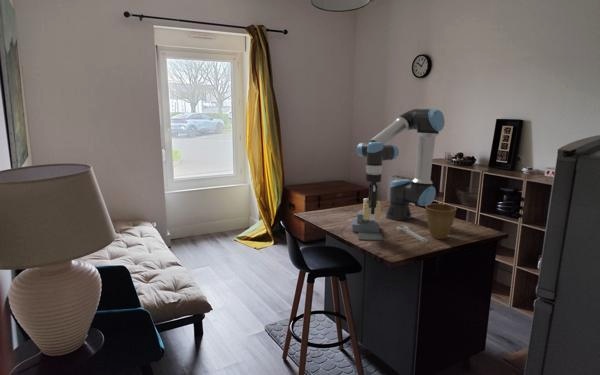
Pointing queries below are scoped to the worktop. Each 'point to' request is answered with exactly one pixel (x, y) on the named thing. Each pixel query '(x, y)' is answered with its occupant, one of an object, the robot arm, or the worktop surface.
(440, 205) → the plant pot
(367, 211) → the brass collar
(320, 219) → the worktop surface
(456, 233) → the worktop surface
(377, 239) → the rubber mat
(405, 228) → the adjustable wrench
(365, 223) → the vise
